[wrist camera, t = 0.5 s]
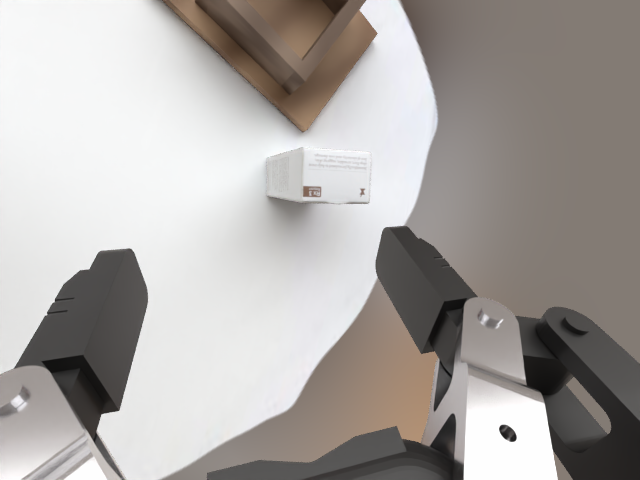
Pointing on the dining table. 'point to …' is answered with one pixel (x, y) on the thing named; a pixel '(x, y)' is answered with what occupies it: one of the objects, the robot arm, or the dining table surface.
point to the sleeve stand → (284, 46)
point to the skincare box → (320, 176)
